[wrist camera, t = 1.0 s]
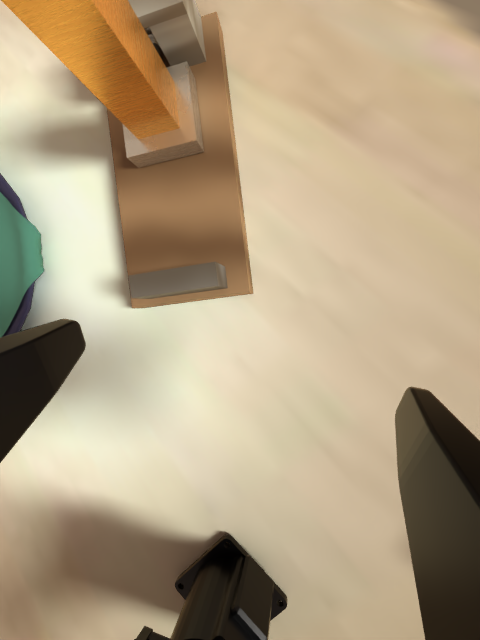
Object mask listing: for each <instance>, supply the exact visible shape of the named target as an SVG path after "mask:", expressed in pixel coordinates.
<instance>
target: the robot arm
mask: <svg viewBox="0 0 480 640" xmlns="http://www.w3.org/2000/svg"><path fill="white" fill-rule="evenodd" d="M85 346H86V343H85V340H84V337H83V333H82V330H81V327H80V325H79V323H78V322H77V321H74V320H69V319H60V320H57V321H54V322H50V323H47V324H44V325H40V326H37V327H34V328H31V329H27V330H24V331H21V332H17V333H14V334H11V335H7V336H4V337H1V338H0V463H1V461H2V460H3V459H4V458H5V456H6V455H7V454H8V453H9V451H10V450H11V449H12V448H13V447H14V445H15V444H16V443H17V442H18V440H19V439H20V438H21V437H22V435H23V434H24V433H25V432H26V430H27V429H28V428H29V427H30V425H31V424H32V423H33V422H34V420H35V419H36V418H37V417H38V415H39V414H40V413H41V412H42V410H43V409H44V408H45V407H46V405H47V404H48V403H49V402H50V400H51V399H52V398H53V397H54V395H55V394H56V393H57V391H58V390H59V388H60V387H61V385H62V384H63V382H64V381H65V379H66V378H67V376H68V375H69V373H70V372H71V370H72V369H73V367H74V366H75V364H76V363H77V361H78V360H79V358H80V357H81V355H82V354H83V352H84V350H85ZM395 427H396V446H397V466H398V480H399V487H400V494H401V500H402V506H403V512H404V517H405V523H406V529H407V535H408V541H409V547H410V552H411V558H412V564H413V570H414V576H415V582H416V587H417V593H418V599H419V605H420V611H421V617H422V623H423V628H424V634H425V640H480V441H479V440H478V439H477V438H476V437H475V436H474V435H473V434H472V433H471V432H470V431H469V430H468V429H467V428H466V427H465V426H464V425H463V424H462V423H461V422H460V421H459V420H458V419H457V418H456V417H455V416H454V415H453V414H452V413H451V412H450V411H449V410H448V409H447V408H446V407H445V406H444V405H443V404H442V403H441V402H440V401H439V400H438V399H437V398H436V397H435V396H434V395H433V394H432V393H431V392H430V391H428V390H426V389H421V388H416V387H409V388H407V390H406V391H405V393H404V395H403V397H402V399H401V401H400V404H399V406H398V408H397V410H396V414H395ZM226 542H229V543H230V544H227V543H226ZM181 583H182V584H183V585H182V584H181ZM175 587H176V589H177V591H178V592H179V593H180V594H181V595H182V596H183V598H184V599H185V600H186V601H185V603H184V606H183V608H182V611H181V613H180V616H179V618H178V621H177V623H176V626H175V628H174V631H173V633H172V636H171V638H167V637H165V636H162V635H160V634H157V633H155V632H153V629H151V628H149V627H146V626H144V628H143V629H142V631H141V632H140V634H139V635H138V637H137V638H136V639H134V640H268V635H269V626H270V621H271V620H272V619H273V618H274V617H276V616H277V615H278V614H279V613H281V612H282V611H283V610H284V609H285V608H286V607H287V596H286V595H285V594H284V593H283V591H282V590H281V589H280V588H279V587H278V586H277V585H276V584H275V583H274V582H273V580H272V579H271V578H270V577H269V576H268V575H267V574H266V573H265V572H264V571H263V569H262V568H261V567H260V566H259V565H258V564H257V563H256V562H255V561H254V560H253V559H252V557H250V556H249V554H248V553H247V552H246V551H245V550H244V549H243V548H242V547H241V546H240V545H239V544H238V542H237V541H236V540H235V539H234V538H233V537H232V536H231V535H225V536H223V537H222V538H221V539H220V540H219V541H218V542H217V543H215V544H214V545H213V546H212V547H211V548H210V549H209V550H208V551H207V552H205V553H204V554H203V555H202V556H201V557H200V558H199V559H198V560H197V561H196V562H194V563H193V564H192V565H191V566H190V567H189V568H188V569H187V570H186V571H185V572H183V573H182V574H181V575H180V576H179V577H178V579H177V581H176V583H175ZM279 600H281V601H282V602H281V601H279Z"/></svg>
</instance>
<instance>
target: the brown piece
mask: <svg viewBox="0 0 480 640" xmlns="http://www.w3.org/2000/svg"><path fill="white" fill-rule="evenodd" d="M128 2H129V3H130V5H131V7H132V9H133V10H134V12H135V14H136V16H137V17H138V19H139V21H140V23H141V24H142V26H143V28H144V29H145V28H148V27H150V29H151V31H152V33H153V35H154V37H155V38H156V40H157V42H158V44H159V47H160V55H161V59H162V61H163V63H164V64H165V66H166V68H167V67H170V66H173V65H177V64H180V63H183V62H186V61H187V63H188V65H189V67H190V69H191V71H192V73H193V75H194V77H195V82H196V90H197V98H198V107H199V115H200V123H201V131H202V140H203V148H204V152H202V153H198V154H194V155H190V156H186V157H181V158H177V159H173V160H169V161H165V162H161V163H157V164H153V165H149V166H144V167H140V168H138V167H137V166H136V165H135V164H134V163H132V162H131V161H130V160H129V159H128V158H127V156H126V148H125V140H124V132H123V124H122V122H121V121H120V120H119V119H118V118H117V117H116V116H115V115H114V114H113V113H112V112H111V111H110V110H109V109H108V108H107V114H108V121H109V129H110V137H111V145H112V153H113V161H114V169H115V177H116V185H117V193H118V200H119V208H120V216H121V224H122V232H123V240H124V248H125V256H126V264H127V272H128V279H129V287H130V295H131V303H132V308H148V307H155V306H163V305H170V304H178V303H185V302H193V301H200V300H208V299H215V298H223V297H230V296H238V295H245V294H253V287H252V278H251V270H250V262H249V253H248V245H247V236H246V228H245V219H244V211H243V202H242V194H241V186H240V177H239V169H238V160H237V152H236V143H235V135H234V126H233V118H232V110H231V101H230V93H229V84H228V76H227V67H226V59H225V50H224V42H223V34H222V29H221V26H220V22H219V19H218V15H217V12H214V13H211V14H208V15H205V16H202V17H201V16H200V13H199V10H198V7H197V4H196V1H195V0H128Z"/></svg>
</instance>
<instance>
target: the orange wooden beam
mask: <svg viewBox="0 0 480 640" xmlns="http://www.w3.org/2000/svg"><path fill="white" fill-rule="evenodd" d="M1 1H2V2H3V3H4V4H5V5H6V6H7V7H8V8H9V9H10V10H11V11H12V12H13V13H14V14H15V15H16V16H17V17H18V18H19V19H20V20H21V21H22V22H23V23H24V24H25V25H26V26H27V27H28V28H29V29H30V30H31V31H32V32H33V33H34V34H35V35H36V36H37V37H38V38H39V39H40V40H41V41H42V42H43V43H44V44H45V45H46V46H47V47H48V48H49V49H50V50H51V51H52V52H53V53H54V54H55V55H56V56H57V57H58V58H59V59H60V61H61V62H62V63H63V64H64V65H65V66H66V67H67V68H68V69H69V70H70V71H71V72H72V73H73V74H74V75H75V76H76V77H77V78H78V79H79V80H80V81H81V82H82V83H83V84H84V85H85V86H86V87H87V88H88V89H89V90H90V91H91V92H92V93H93V94H94V95H95V96H96V97H97V98H98V99H99V100H100V101H101V102H102V103H103V104H104V105H105V106H106V107H107V108H108V109H109V110H110V111H111V112H112V113H113V114H114V115H115V116H116V117H117V118H118V119H119V120H120V121H121V122H122V124H123V132H124V140H125V148H126V156H127V158H128V159H129V160H130V161H131V162H132V163H134V164H135V165H136V166H137V167H138V168H140V167H144V166H149V165H153V164H157V163H161V162H165V161H169V160H173V159H177V158H181V157H186V156H190V155H194V154H198V153H202V152H204V148H203V140H202V131H201V123H200V115H199V107H198V98H197V90H196V82H195V77H194V75H193V73H192V71H191V69H190V67H189V65H188V63H187V61H186V62H183V63H180V64H177V65H173V66H170V67H167V68H166V66H165V64H164V63H163V61H162V59H161V55H160V47H159V44H158V42H157V40H156V38H155V37H154V35H153V33H152V31H151V29H150V27H148V28H145V29H144V28H143V26H142V24H141V23H140V21H139V19H138V17H137V16H136V14H135V12H134V10H133V9H132V7H131V5H130V3H129V2H128V0H1Z"/></svg>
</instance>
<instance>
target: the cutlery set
mask: <svg viewBox="0 0 480 640" xmlns="http://www.w3.org/2000/svg"><path fill="white" fill-rule="evenodd" d="M41 247H42V246H41V234H40V233H39V231H38V230H37V229H36V227H35V226H34V225H33V224H31V223H30V222H29V221H28V220H27V217H26V214H25V212H24V209H23V206H22V204H21V201H20V198H19V197H18V196H17V194H16V193H15V192H14V191H13V189H12V188H11V187H10V185H9V184H8V183H7V181H6V180H5V179H4V177H3V176H2V175H1V174H0V338H1V337H4V336H7V335H11V334H14V333H17V332H20V330H21V328H22V326H23V324H24V321H25V319H26V317H27V315H28V313H29V311H30V309H31V302H32V296H33V290H34V284H35V280H36V279H37V278H38V277H39V276H40V275H41V274H42V273H43V271H44V268H43V258H42V255H41Z"/></svg>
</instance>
